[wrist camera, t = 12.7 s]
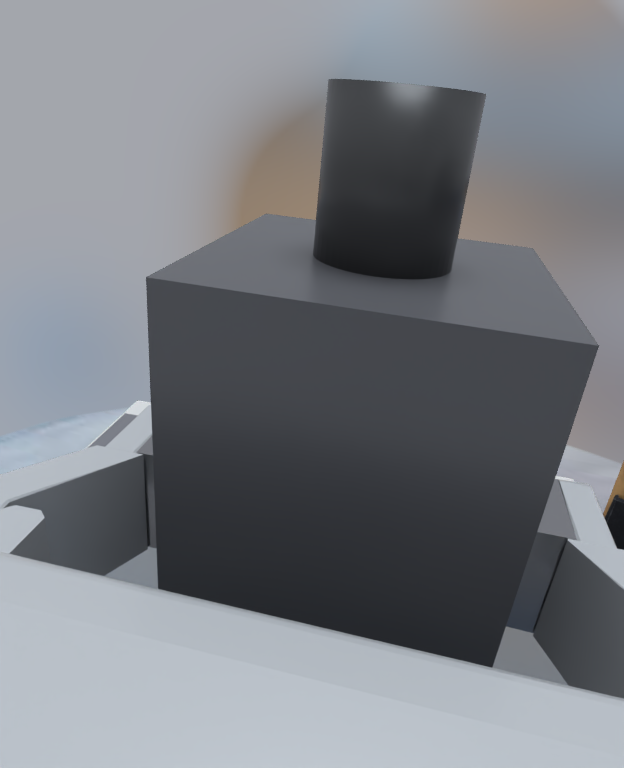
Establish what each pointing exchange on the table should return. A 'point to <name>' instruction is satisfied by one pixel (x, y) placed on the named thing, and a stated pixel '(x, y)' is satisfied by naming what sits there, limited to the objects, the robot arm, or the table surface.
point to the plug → (364, 393)
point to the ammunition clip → (616, 511)
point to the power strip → (515, 647)
